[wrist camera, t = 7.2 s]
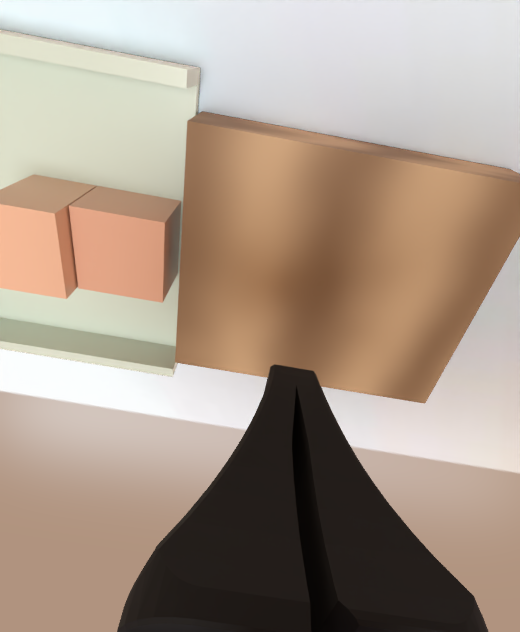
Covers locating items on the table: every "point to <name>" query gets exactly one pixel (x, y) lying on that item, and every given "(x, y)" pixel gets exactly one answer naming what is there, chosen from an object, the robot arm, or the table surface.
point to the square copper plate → (334, 255)
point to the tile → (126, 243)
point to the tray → (94, 183)
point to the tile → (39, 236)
